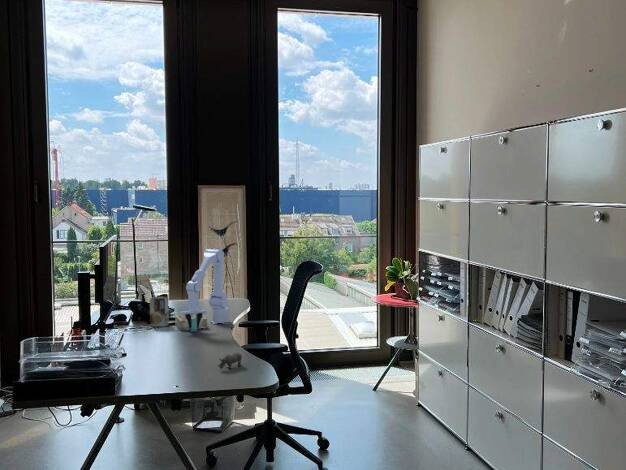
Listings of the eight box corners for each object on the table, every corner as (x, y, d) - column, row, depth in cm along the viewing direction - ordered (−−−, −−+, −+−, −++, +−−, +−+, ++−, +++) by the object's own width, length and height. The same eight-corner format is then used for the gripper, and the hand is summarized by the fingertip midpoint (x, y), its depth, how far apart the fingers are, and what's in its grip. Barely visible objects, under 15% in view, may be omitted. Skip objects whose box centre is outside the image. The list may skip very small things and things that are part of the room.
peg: (196, 329, 323) (196, 317, 323) (197, 331, 320) (197, 318, 320) (189, 330, 322) (189, 317, 321) (191, 331, 319) (191, 319, 318)
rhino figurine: (214, 370, 250) (214, 356, 250) (238, 363, 261) (238, 350, 260) (220, 372, 248) (220, 358, 247) (244, 365, 258) (244, 352, 258)
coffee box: (169, 324, 338) (168, 296, 337) (165, 326, 331) (165, 298, 330) (153, 323, 339) (153, 296, 338) (149, 326, 332) (149, 298, 331)
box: (201, 322, 342) (201, 313, 342) (207, 328, 329) (207, 318, 328) (175, 324, 336) (175, 315, 336) (180, 330, 323) (180, 320, 322)
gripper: (181, 305, 313) (182, 330, 314) (208, 303, 319) (208, 327, 320) (179, 302, 320) (179, 327, 321) (205, 301, 326) (205, 325, 327)
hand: (193, 327), depth 321 cm, fingers closed on peg, 4 cm apart
